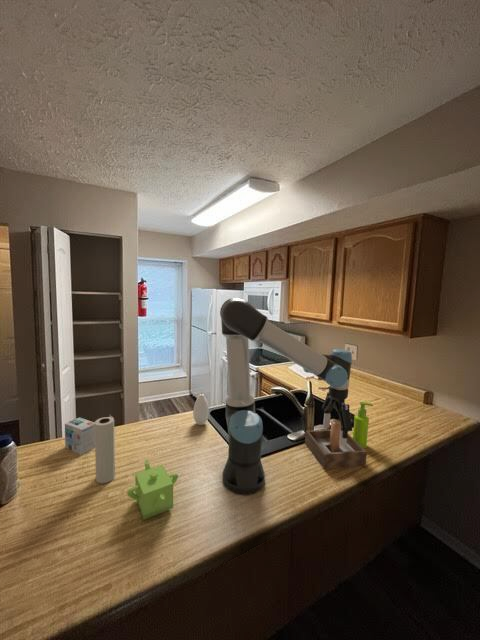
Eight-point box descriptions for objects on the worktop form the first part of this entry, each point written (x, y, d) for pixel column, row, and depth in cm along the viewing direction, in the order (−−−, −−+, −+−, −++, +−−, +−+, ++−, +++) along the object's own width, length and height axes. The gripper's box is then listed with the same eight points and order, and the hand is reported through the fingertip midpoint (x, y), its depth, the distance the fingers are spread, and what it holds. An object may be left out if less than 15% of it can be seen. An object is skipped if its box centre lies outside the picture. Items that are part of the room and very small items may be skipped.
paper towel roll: (102, 486, 92) (101, 426, 89) (92, 479, 95) (90, 421, 92) (121, 474, 98) (120, 417, 96) (110, 468, 101) (109, 413, 99)
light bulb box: (64, 448, 112) (63, 423, 111) (80, 440, 118) (79, 416, 117) (81, 455, 108) (80, 429, 107) (96, 447, 114) (96, 422, 113)
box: (323, 469, 105) (324, 454, 105) (304, 443, 123) (305, 430, 122) (365, 465, 108) (367, 451, 108) (341, 440, 126) (342, 428, 125)
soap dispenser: (370, 449, 120) (374, 406, 118) (353, 447, 121) (357, 404, 119) (366, 442, 126) (370, 401, 123) (351, 440, 127) (354, 399, 125)
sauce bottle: (210, 421, 140) (211, 387, 138) (206, 428, 132) (207, 393, 130) (196, 419, 141) (196, 386, 139) (190, 426, 133) (191, 391, 131)
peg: (331, 456, 113) (334, 425, 112) (327, 451, 117) (329, 420, 116) (340, 456, 114) (343, 424, 113) (335, 450, 118) (338, 420, 116)
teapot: (145, 485, 93) (145, 456, 92) (182, 490, 91) (183, 461, 90) (119, 522, 78) (119, 488, 77) (163, 530, 76) (164, 495, 75)
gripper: (365, 398, 101) (359, 452, 103) (332, 377, 125) (327, 421, 128) (347, 399, 100) (341, 453, 102) (316, 377, 124) (312, 421, 126)
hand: (333, 435), depth 115 cm, fingers open, 13 cm apart
